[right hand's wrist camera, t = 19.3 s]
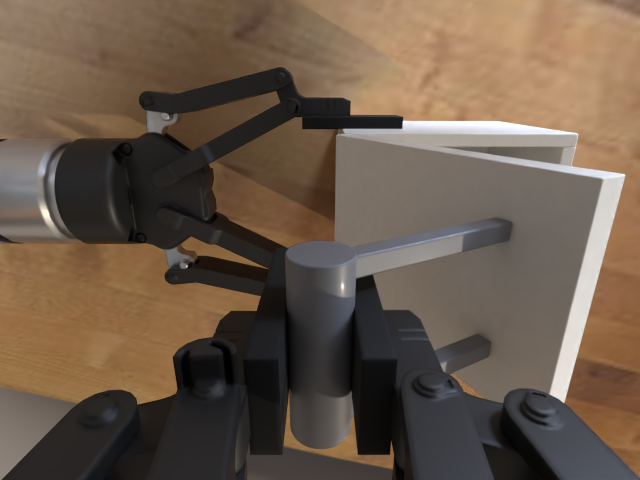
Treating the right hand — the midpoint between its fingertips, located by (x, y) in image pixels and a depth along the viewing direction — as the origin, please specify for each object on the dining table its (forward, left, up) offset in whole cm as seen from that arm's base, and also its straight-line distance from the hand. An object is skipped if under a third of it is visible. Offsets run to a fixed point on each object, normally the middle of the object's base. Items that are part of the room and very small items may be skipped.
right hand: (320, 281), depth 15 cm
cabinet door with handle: (-3, +4, -4) cm, 6 cm away
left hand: (-3, +4, -15) cm, 15 cm away
